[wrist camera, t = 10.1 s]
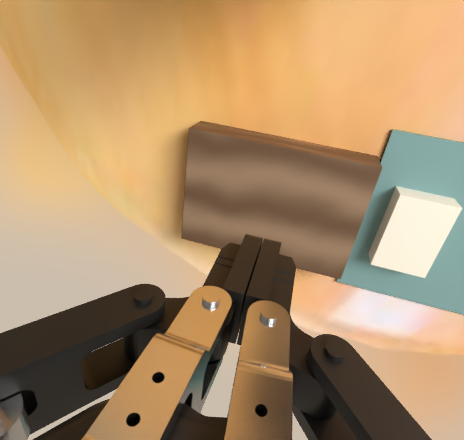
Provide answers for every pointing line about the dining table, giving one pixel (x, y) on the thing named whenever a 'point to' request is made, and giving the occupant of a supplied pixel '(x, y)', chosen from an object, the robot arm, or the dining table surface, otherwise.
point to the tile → (413, 231)
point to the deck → (276, 194)
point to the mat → (426, 180)
